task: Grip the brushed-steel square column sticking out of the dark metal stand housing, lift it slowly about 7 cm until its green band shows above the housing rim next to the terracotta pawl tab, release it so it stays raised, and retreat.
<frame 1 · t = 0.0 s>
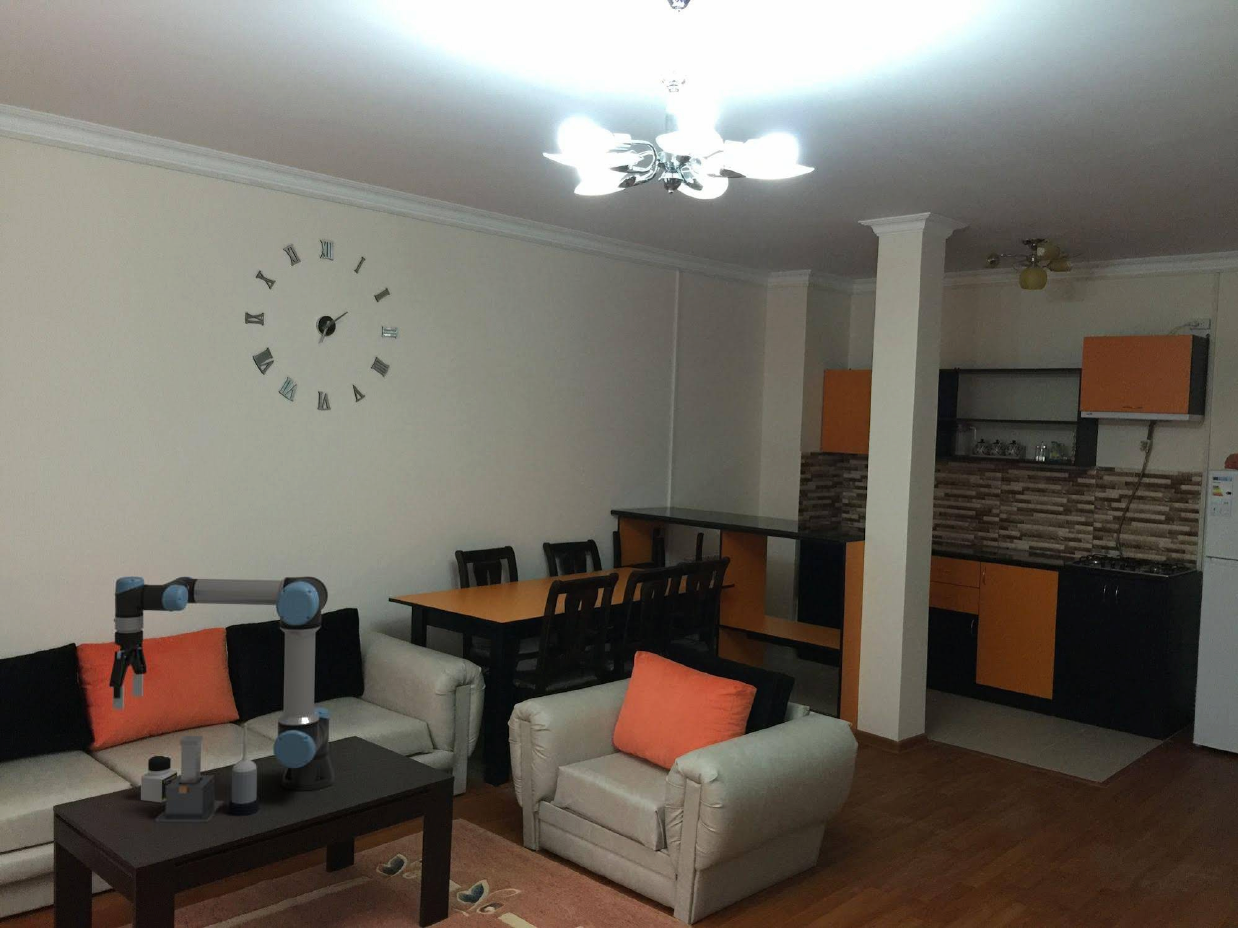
hand: (128, 702, 300), 28 cm above the table, fingers open, 13 cm apart
column: (190, 775, 291), point 11 cm above the table, slide at 0.0 cm
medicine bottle: (159, 797, 302), on the table
stand housing: (190, 812, 291), on the table
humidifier: (243, 811, 294), on the table
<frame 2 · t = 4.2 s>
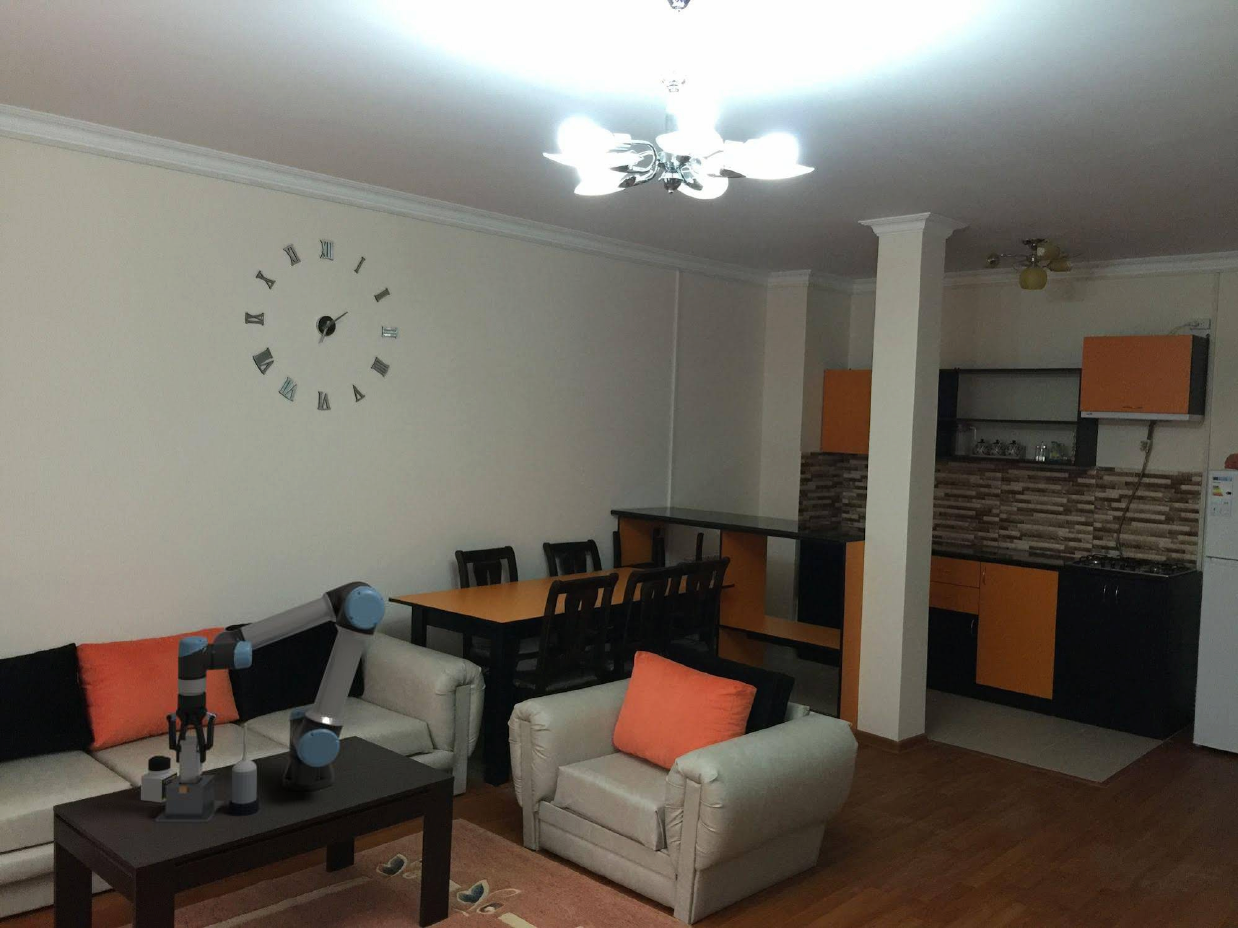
hand: (190, 773, 291), 11 cm above the table, fingers closed on column, 4 cm apart
column: (190, 775, 291), point 11 cm above the table, slide at 0.0 cm, touching gripper
everything else where it was.
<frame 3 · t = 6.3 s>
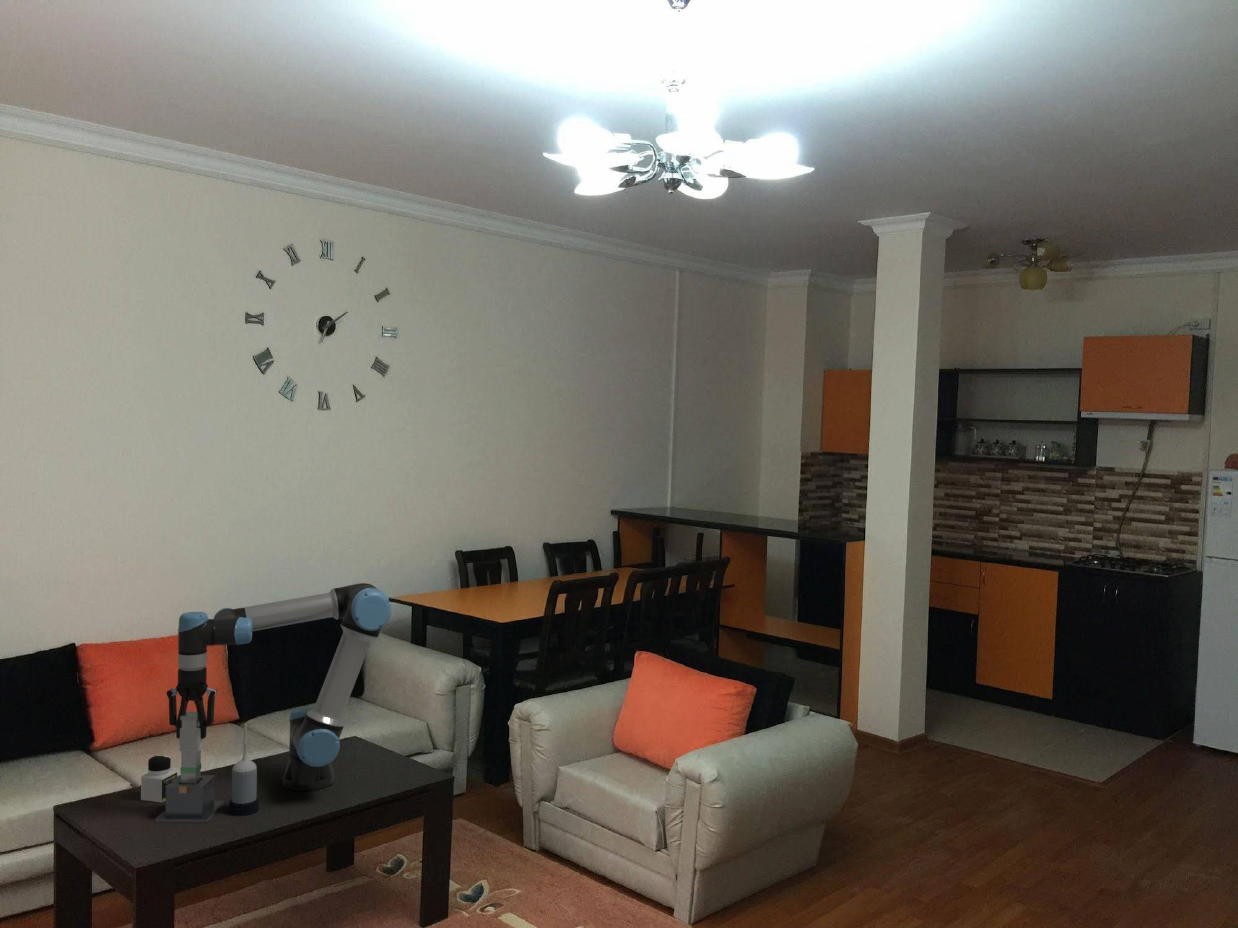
hand: (191, 749, 290), 18 cm above the table, fingers closed on column, 4 cm apart
column: (191, 750, 290), point 18 cm above the table, slide at 7.0 cm, touching gripper
everything else where it was.
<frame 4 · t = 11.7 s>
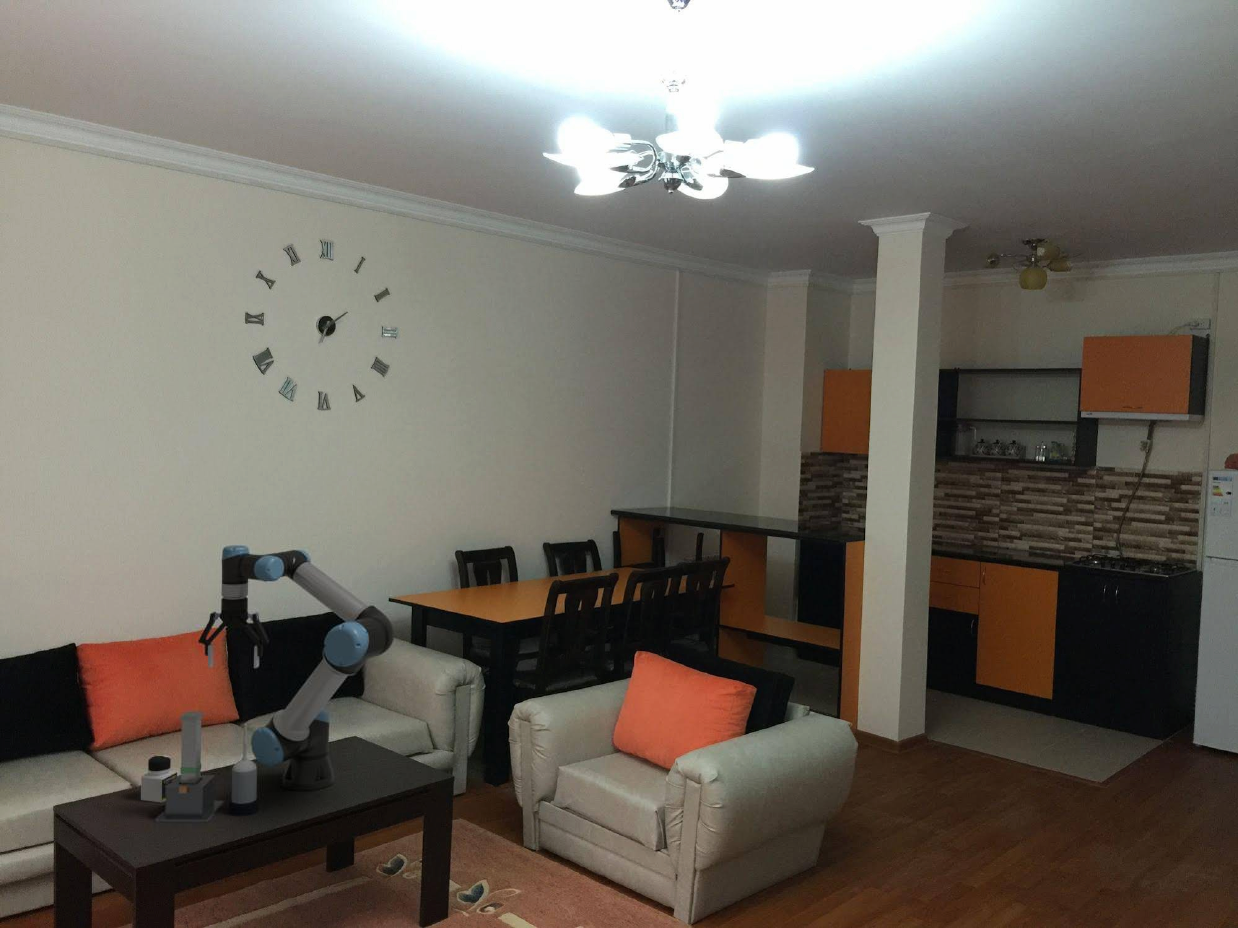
hand: (233, 666, 311), 37 cm above the table, fingers open, 13 cm apart
column: (191, 750, 290), point 18 cm above the table, slide at 7.0 cm
everything else where it was.
at the end: column slide at 7.0 cm; the gripper is holding nothing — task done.
